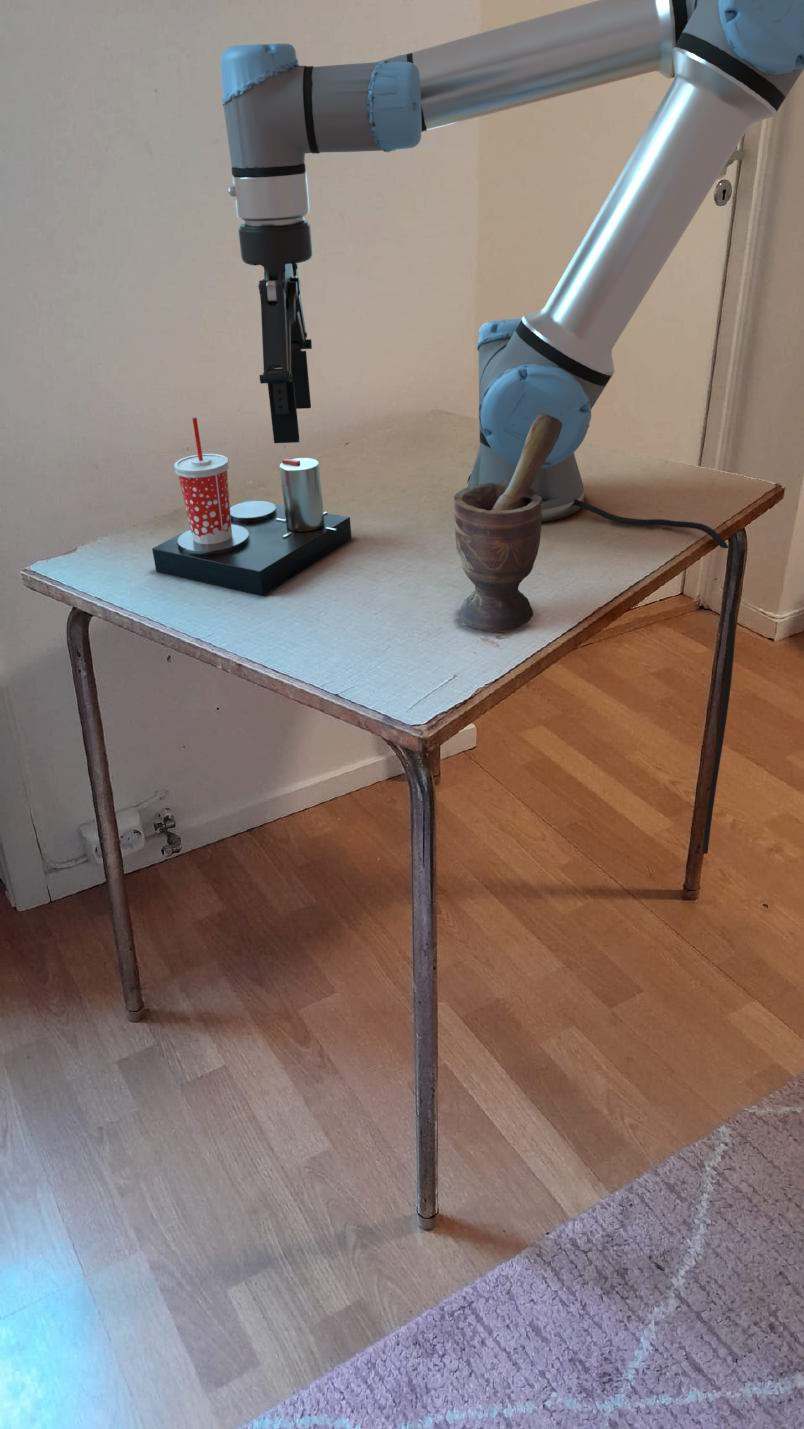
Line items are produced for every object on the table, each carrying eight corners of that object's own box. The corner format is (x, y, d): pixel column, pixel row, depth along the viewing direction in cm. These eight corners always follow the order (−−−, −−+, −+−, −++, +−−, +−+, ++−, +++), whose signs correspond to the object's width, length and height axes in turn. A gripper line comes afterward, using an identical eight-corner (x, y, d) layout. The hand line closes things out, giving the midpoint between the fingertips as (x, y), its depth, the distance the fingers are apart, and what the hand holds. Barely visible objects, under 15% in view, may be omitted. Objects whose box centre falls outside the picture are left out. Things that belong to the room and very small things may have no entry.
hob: (358, 541, 129) (356, 516, 127) (269, 597, 116) (266, 571, 114) (250, 521, 136) (247, 497, 135) (156, 572, 124) (151, 547, 122)
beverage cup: (220, 523, 126) (203, 406, 119) (248, 536, 122) (232, 416, 115) (176, 537, 123) (156, 418, 116) (203, 551, 119) (184, 429, 112)
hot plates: (303, 512, 130) (303, 507, 129) (218, 560, 118) (217, 555, 118) (248, 502, 134) (247, 498, 133) (160, 548, 122) (160, 543, 122)
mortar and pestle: (497, 583, 116) (497, 402, 106) (567, 599, 112) (574, 412, 101) (441, 624, 108) (435, 432, 98) (514, 643, 104) (516, 444, 93)
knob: (332, 521, 126) (326, 458, 122) (310, 534, 123) (303, 469, 119) (301, 515, 129) (294, 453, 125) (278, 528, 125) (271, 465, 121)
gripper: (254, 209, 119) (274, 396, 130) (217, 238, 98) (245, 459, 109) (319, 206, 119) (334, 394, 130) (296, 234, 98) (316, 456, 109)
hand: (293, 424), depth 120 cm, fingers open, 13 cm apart
